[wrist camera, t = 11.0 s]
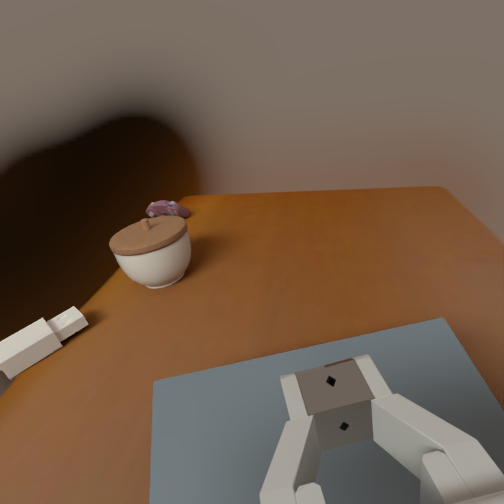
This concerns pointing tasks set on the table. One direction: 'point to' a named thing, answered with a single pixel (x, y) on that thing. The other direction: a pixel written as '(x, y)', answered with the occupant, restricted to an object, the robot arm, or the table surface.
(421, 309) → the table surface
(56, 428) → the table surface
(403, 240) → the table surface
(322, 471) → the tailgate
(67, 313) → the charging cable
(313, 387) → the robot arm
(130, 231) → the lidded bowl
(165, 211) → the video game controller
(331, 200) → the table surface
